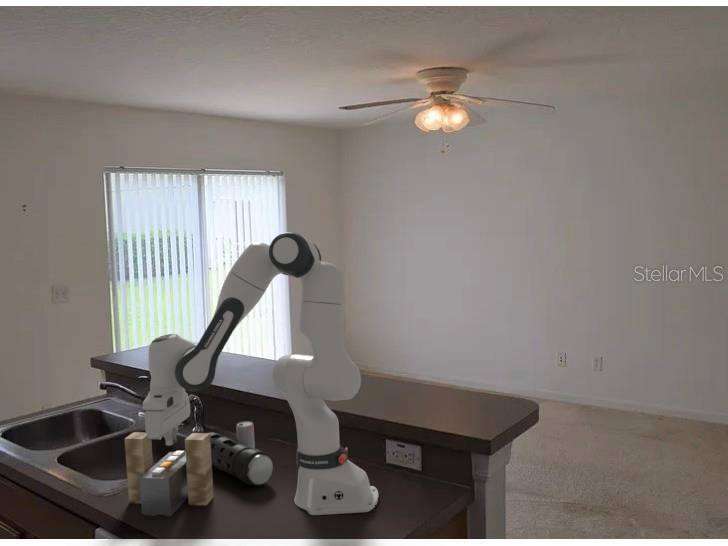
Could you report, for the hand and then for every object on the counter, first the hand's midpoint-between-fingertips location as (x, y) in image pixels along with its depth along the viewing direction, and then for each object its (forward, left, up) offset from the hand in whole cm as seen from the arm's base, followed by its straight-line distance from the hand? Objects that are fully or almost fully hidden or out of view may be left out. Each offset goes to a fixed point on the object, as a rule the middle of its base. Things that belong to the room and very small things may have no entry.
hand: (171, 443), depth 176 cm
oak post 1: (+9, +2, -15) cm, 17 cm away
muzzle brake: (-12, -15, -15) cm, 25 cm away
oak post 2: (-8, +2, -15) cm, 17 cm away
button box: (0, +2, -15) cm, 15 cm away
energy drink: (-12, -26, -15) cm, 32 cm away
